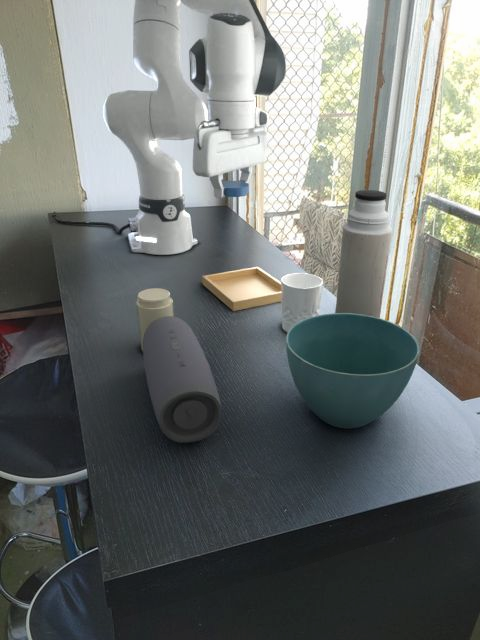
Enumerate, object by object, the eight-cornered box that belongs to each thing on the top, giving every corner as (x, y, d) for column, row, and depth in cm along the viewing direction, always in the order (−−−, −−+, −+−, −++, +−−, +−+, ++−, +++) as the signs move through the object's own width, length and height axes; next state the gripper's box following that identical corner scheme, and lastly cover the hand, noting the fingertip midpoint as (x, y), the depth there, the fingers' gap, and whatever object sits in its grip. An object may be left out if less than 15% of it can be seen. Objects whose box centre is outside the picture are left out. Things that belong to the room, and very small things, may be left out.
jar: (135, 344, 96) (130, 291, 91) (166, 336, 99) (162, 284, 94) (149, 358, 91) (144, 304, 86) (181, 349, 94) (178, 296, 89)
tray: (202, 284, 122) (202, 275, 121) (257, 274, 128) (258, 266, 127) (233, 311, 109) (233, 302, 108) (293, 299, 115) (293, 290, 114)
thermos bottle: (375, 339, 99) (396, 188, 86) (375, 359, 92) (397, 199, 79) (333, 334, 101) (347, 185, 87) (330, 354, 94) (344, 195, 80)
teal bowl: (319, 465, 68) (327, 386, 62) (263, 393, 82) (265, 323, 76) (431, 433, 74) (448, 358, 68) (361, 371, 89) (369, 305, 83)
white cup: (323, 322, 105) (327, 276, 100) (313, 340, 98) (317, 290, 94) (285, 316, 107) (287, 270, 102) (274, 333, 101) (275, 284, 96)
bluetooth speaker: (227, 444, 71) (226, 382, 66) (158, 456, 69) (152, 392, 64) (197, 362, 90) (195, 310, 85) (142, 369, 88) (136, 316, 83)
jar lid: (252, 196, 101) (252, 187, 100) (218, 197, 100) (218, 188, 99) (245, 188, 107) (245, 180, 106) (213, 189, 105) (213, 180, 104)
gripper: (211, 123, 87) (213, 206, 94) (273, 114, 103) (272, 186, 109) (181, 120, 90) (186, 201, 97) (247, 112, 105) (246, 182, 112)
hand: (232, 193), depth 103 cm, fingers closed on jar lid, 6 cm apart
